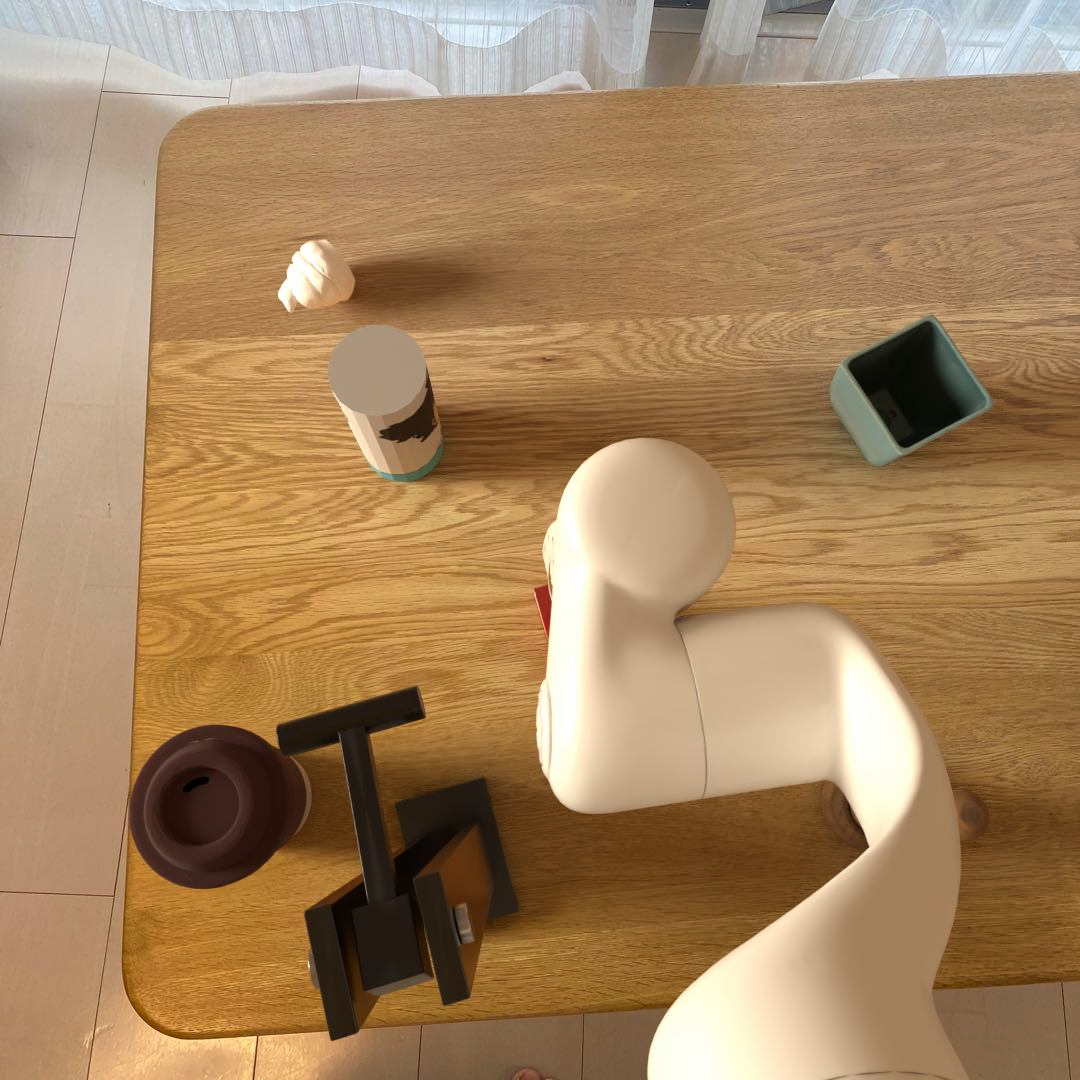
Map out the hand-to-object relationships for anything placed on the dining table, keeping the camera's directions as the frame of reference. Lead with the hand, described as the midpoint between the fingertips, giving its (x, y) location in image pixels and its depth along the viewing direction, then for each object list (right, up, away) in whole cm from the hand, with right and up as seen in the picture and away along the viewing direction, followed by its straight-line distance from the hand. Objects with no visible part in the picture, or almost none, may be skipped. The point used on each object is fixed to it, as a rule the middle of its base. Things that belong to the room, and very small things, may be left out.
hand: (592, 622), depth 67 cm
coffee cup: (-25, -14, +4) cm, 29 cm away
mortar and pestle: (+21, -15, +5) cm, 26 cm away
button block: (0, -2, +7) cm, 8 cm away
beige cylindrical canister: (-15, +14, +11) cm, 24 cm away
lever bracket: (-10, -18, +3) cm, 21 cm away
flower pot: (+25, +16, +13) cm, 32 cm away
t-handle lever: (-10, -6, -30) cm, 32 cm away
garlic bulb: (-23, +27, +14) cm, 38 cm away
